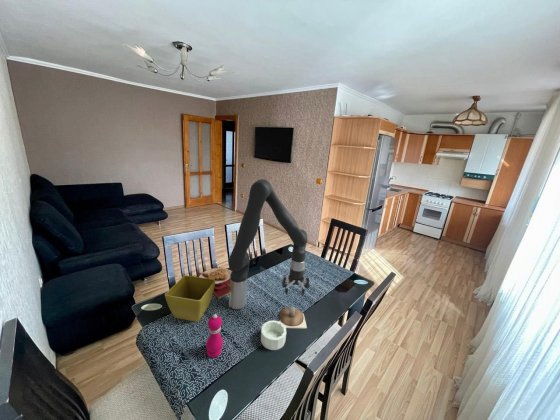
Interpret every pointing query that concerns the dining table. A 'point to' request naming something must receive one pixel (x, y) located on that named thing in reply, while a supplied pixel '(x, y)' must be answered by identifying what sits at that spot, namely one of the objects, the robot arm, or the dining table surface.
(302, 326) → the mat
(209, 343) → the pepper mill
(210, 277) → the plate with food
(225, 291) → the hardcover book
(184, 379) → the dining table surface
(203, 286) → the flower pot
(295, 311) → the lid
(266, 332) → the bowl
